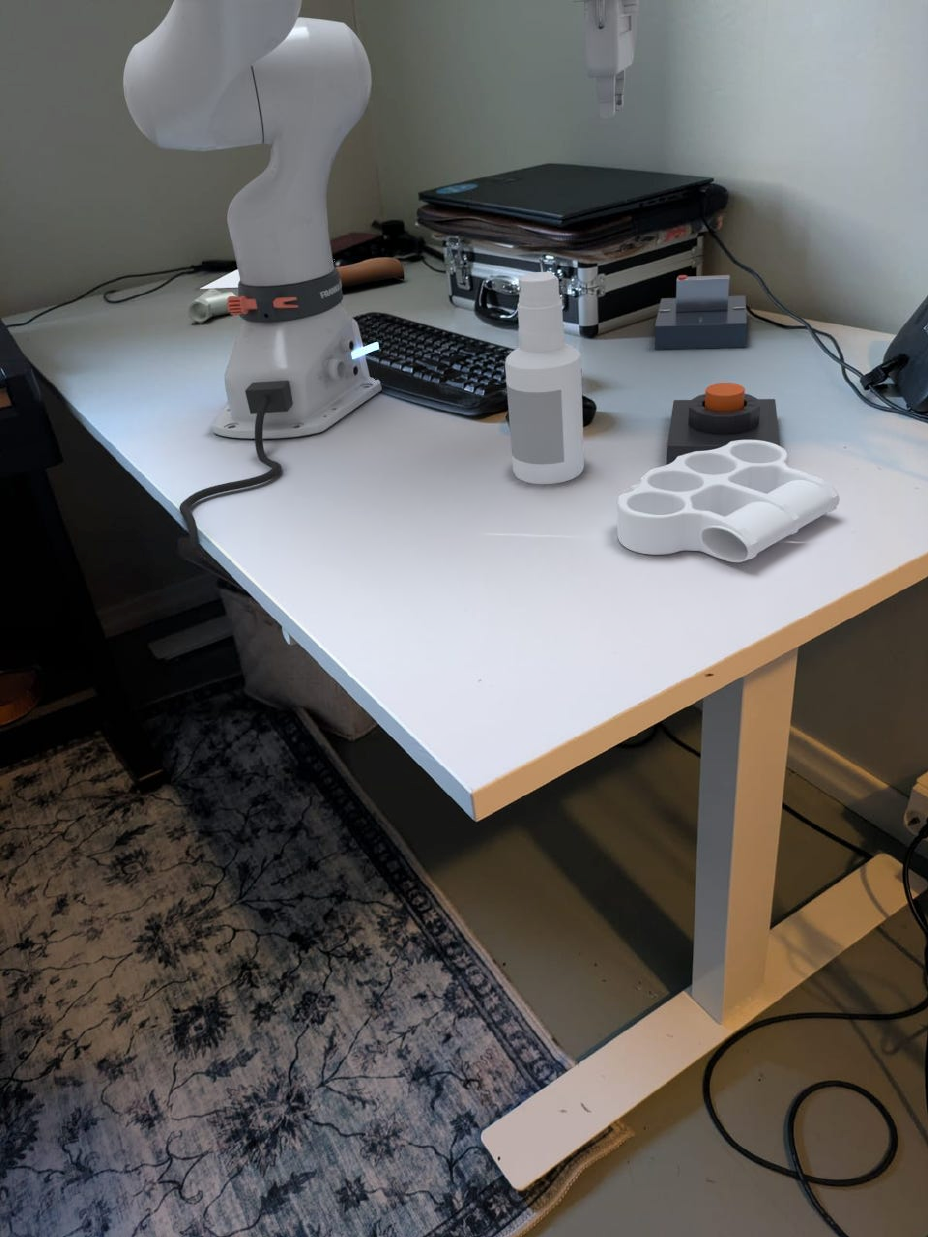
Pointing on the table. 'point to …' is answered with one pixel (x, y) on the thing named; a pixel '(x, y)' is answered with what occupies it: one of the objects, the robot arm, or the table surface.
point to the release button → (724, 397)
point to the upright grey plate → (702, 293)
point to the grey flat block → (701, 326)
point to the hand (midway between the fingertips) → (611, 114)
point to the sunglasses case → (371, 271)
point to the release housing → (719, 425)
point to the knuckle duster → (721, 502)
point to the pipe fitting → (209, 305)
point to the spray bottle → (544, 388)
